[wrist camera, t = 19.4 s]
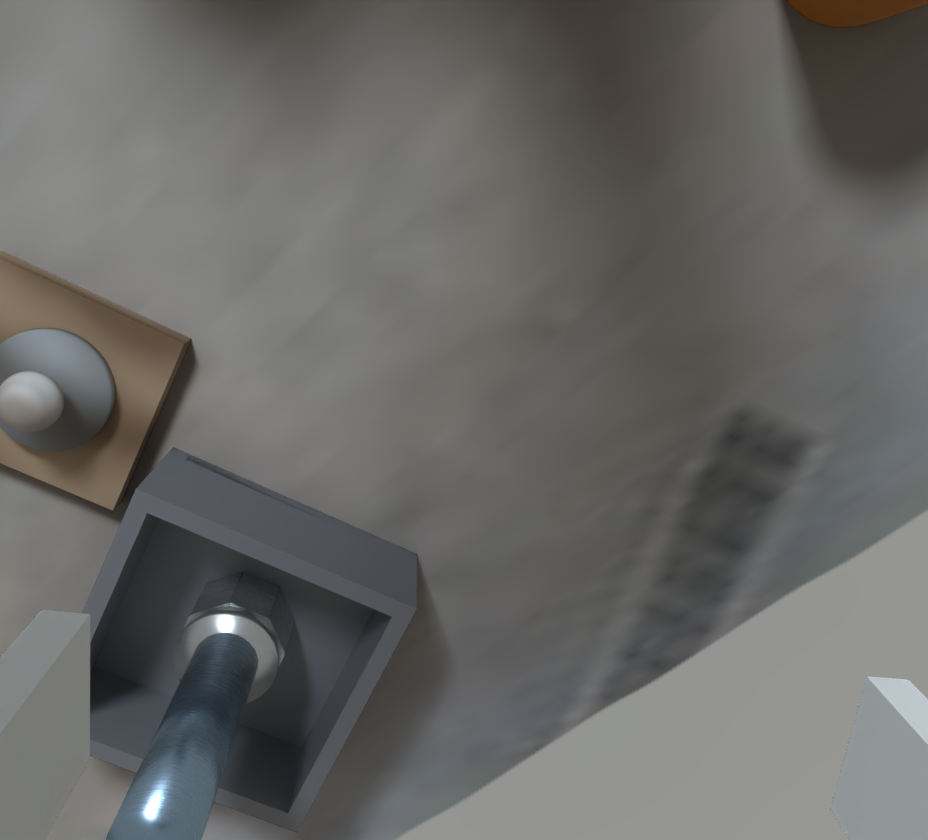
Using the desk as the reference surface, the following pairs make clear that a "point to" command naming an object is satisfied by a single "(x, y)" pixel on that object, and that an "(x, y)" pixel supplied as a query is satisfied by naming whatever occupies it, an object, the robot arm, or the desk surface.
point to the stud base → (78, 383)
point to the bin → (309, 647)
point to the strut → (206, 706)
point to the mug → (852, 10)
